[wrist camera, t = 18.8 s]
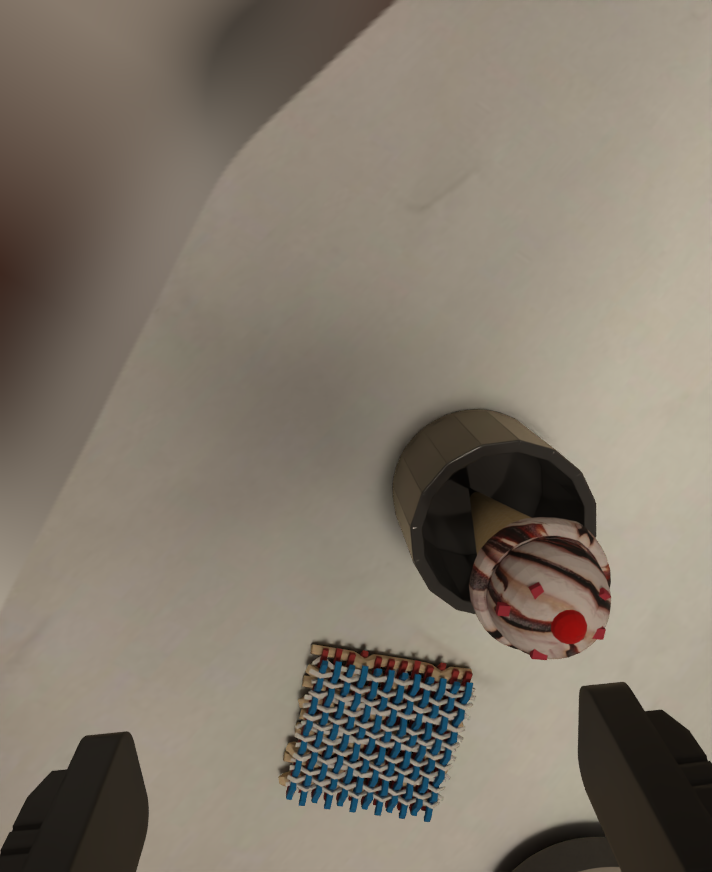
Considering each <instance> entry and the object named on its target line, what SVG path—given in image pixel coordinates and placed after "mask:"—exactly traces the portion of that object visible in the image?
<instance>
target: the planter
mask: <svg viewBox="0 0 712 872" xmlns="http://www.w3.org/2000/svg"><path fill="white" fill-rule="evenodd" d="M512 872H621V870H620V867H619V865H618V863H617V861H616V858H615V856H614V854H613V852H612V849H611V847H610V845H609V843H608V840H607V838H606V837H584V838H577V839H572V840H567V841H564V842H560V843H557V844H554V845H552V846H549V847H547V848H545V849H543V850H541V851H539V852H537V853H535V854H534V855H532V856H531V857H529V858H528V859H526V860H525V861H524V862H522V863H521V864H520V865H519V866H517V867H516V868H515V869H514V870H513V871H512Z"/></svg>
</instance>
